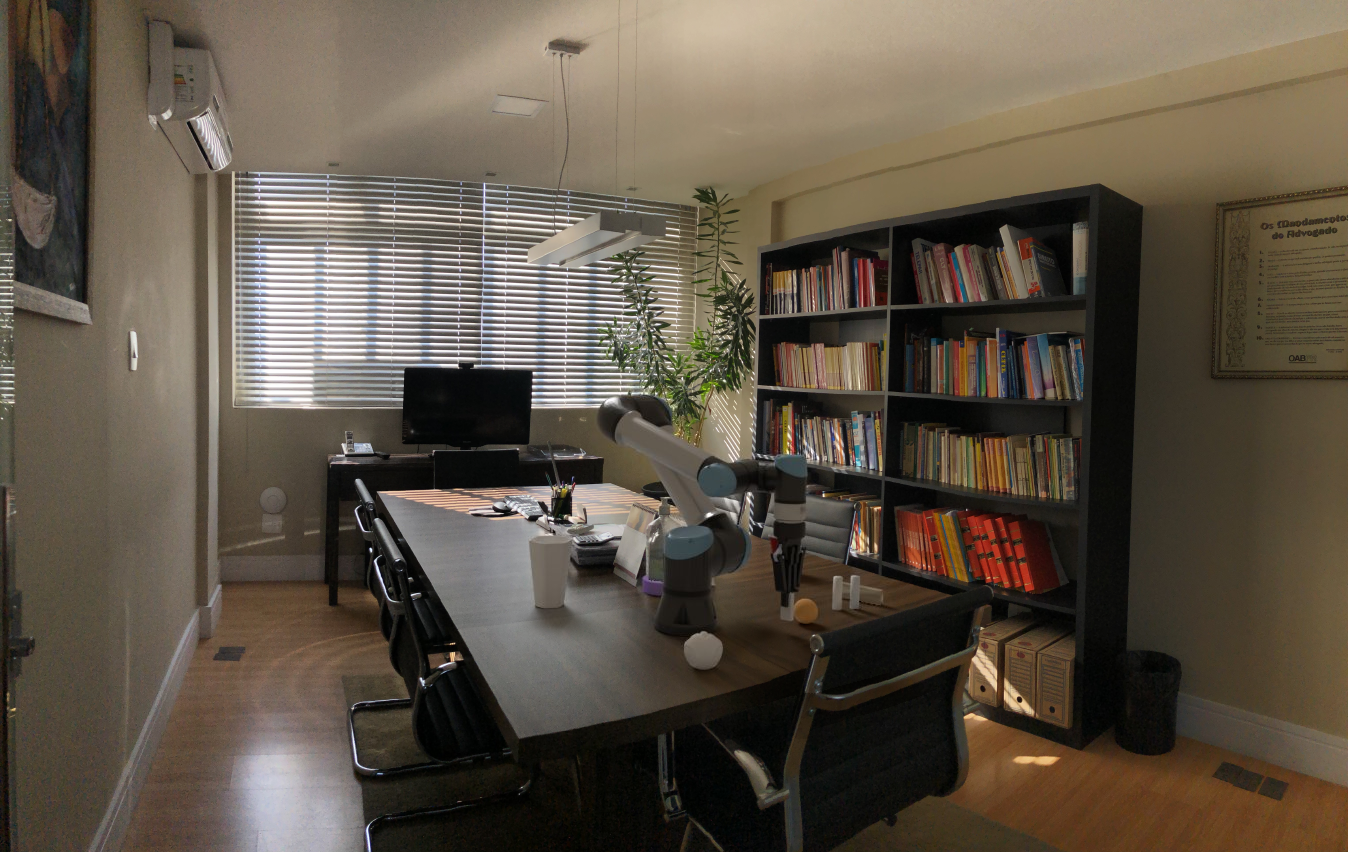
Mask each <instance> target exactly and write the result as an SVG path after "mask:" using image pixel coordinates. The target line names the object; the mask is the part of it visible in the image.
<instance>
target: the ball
mask: <svg viewBox="0 0 1348 852" xmlns="http://www.w3.org/2000/svg"><path fill="white" fill-rule="evenodd" d="M818 613H819V608H818V606H817V603H815V602H814V601H813V600H811V599H810V598H801V599H799V600H797V601H796V602H795V603H794V618H795V619H796V620H797V621H798V622H799V623H801V624H805V625H808V624H811V623H813V622H814V621H815V620H816V619H817V617H818V615H819V614H818Z"/></svg>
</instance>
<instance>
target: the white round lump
mask: <svg viewBox="0 0 1348 852" xmlns="http://www.w3.org/2000/svg"><path fill="white" fill-rule="evenodd" d="M723 650H724V647H723V643H722V641H721V640H720V639H719V638H717V637H716V636H715V635H714V634H713V633H709V634H708V633H707V632H705V631H702V632H701V633H700V634H699V633H697V634H694V635H693V636H690V638H689V639H687V640H686V641H684V645H683V655H684V656H685V657H684V658H685V659H686V661H687V663H688V664H689V665H690V666H691V667H693V668H695V669H698V670H701V671H702V670H703V671H706V670H710V669H713V668H714V667H716V666H717V665H718V664H719V662H720V661H721V660H720V659H722V658H721V657H722V655H723Z"/></svg>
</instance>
